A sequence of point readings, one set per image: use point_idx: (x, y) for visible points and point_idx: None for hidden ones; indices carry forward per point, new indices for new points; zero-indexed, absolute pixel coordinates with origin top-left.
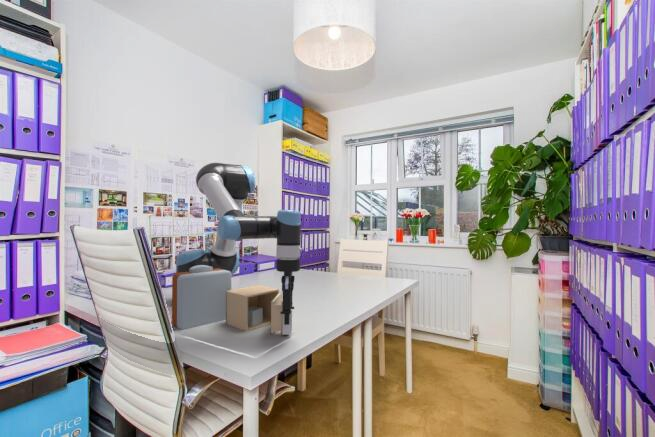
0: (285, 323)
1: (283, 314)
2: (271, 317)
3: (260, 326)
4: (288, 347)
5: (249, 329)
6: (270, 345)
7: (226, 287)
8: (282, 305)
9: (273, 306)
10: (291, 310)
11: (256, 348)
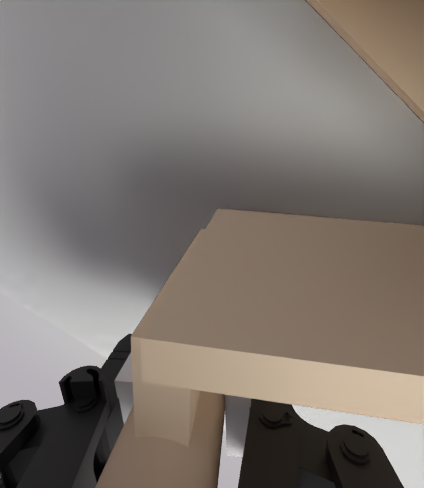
0: (121, 346)
1: (119, 380)
2: (200, 241)
3: (405, 91)
4: (81, 305)
5: (339, 4)
6: (92, 219)
7: None
8: (113, 455)
9: (139, 329)
10: (227, 451)
11: (44, 150)
